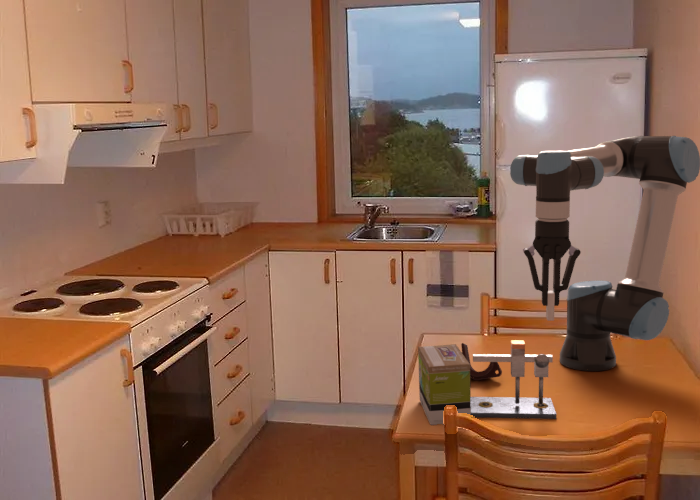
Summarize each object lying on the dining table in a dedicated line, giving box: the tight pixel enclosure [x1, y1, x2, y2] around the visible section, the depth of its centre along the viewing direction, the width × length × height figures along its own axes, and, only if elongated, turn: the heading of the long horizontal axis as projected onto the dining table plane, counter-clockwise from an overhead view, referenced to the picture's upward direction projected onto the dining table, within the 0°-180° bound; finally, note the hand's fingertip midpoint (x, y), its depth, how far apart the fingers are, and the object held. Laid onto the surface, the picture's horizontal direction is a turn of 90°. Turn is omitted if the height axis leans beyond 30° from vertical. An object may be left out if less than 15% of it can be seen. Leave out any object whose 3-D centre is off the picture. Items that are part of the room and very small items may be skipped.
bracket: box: [460, 342, 503, 381], centre depth 208 cm, size 6×17×10 cm, turn 78°
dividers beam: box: [472, 353, 554, 404], centre depth 185 cm, size 18×3×13 cm, turn 83°
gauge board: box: [471, 396, 557, 420], centre depth 186 cm, size 20×10×1 cm, turn 83°
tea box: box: [417, 343, 472, 426], centre depth 185 cm, size 15×10×15 cm, turn 5°
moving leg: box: [510, 339, 526, 404], centre depth 184 cm, size 3×3×15 cm
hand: (550, 318), depth 181 cm, fingers closed
